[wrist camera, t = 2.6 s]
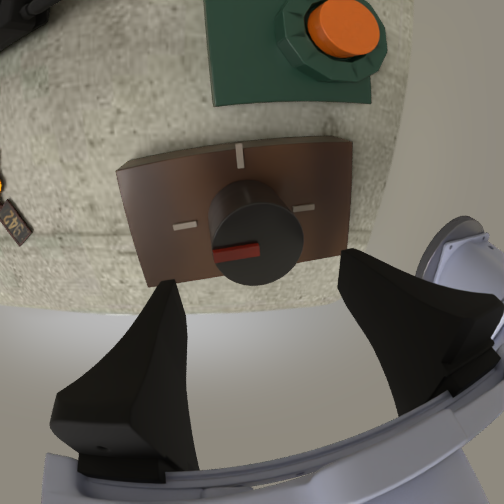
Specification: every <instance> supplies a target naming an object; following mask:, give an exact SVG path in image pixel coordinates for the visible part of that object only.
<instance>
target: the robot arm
mask: <svg viewBox="0 0 504 504" xmlns="http://www.w3.org/2000/svg"><path fill="white" fill-rule="evenodd" d="M488 239H489V233H487V232H486V233H482V234H478V235H474V236H470V237H466V238H462V239H458V240H454V241H450V242H446V243H445V244H444V246H443V250H442V253H441V257H440V261H439V264H438V268H437V271H436V274H435V277H434V281H433V283H432V282H429V281H426V280H424V279H421V278H418V277H415V276H413V275H410V274H408V273H406V272H404V271H401V270H399V269H397V268H395V267H393V266H391V265H389V264H387V263H385V262H383V261H380V260H378V259H376V258H374V257H372V256H370V255H368V254H366V253H364V252H362V251H360V250H357V249H354V248H351V249H345V250H341V259H340V269H339V278H338V286H337V288H338V290H339V292H340V294H341V296H342V298H343V300H344V302H345V304H346V306H347V308H348V309H349V311H350V312H351V314H352V315H353V317H354V318H355V320H356V321H357V323H358V325H359V326H360V327H361V329H362V330H363V332H364V334H365V335H366V337H367V338H368V340H369V342H370V343H371V345H372V347H373V349H374V351H375V353H376V355H377V357H378V359H379V361H380V363H381V366H382V368H383V371H384V373H385V376H386V378H387V381H388V383H389V386H390V389H391V392H392V395H393V398H394V401H395V405H396V408H397V412H398V416H399V417H398V418H396V419H393V420H391V421H389V422H387V423H385V424H382V425H381V426H378V427H376V428H373V429H371V430H369V431H366V432H364V433H361V434H358V435H356V436H353V437H351V438H348V439H345V440H342V441H339V442H336V443H334V444H330V445H327V446H324V447H321V448H318V449H315V450H311V451H308V452H304V453H301V454H296V455H292V456H288V457H284V458H280V459H275V460H271V461H266V462H261V463H255V464H249V465H243V466H237V467H230V468H221V469H211V470H199V466H198V461H197V457H196V452H195V447H194V441H193V436H192V430H191V424H190V416H189V409H188V400H187V391H186V365H187V363H186V361H187V325H186V315H185V312H184V308H183V305H182V302H181V298H180V295H179V292H178V288H177V285H176V281H175V279H171V280H165V281H160V283H159V284H158V286H157V287H156V289H155V291H154V292H153V294H152V296H151V297H150V299H149V300H148V302H147V304H146V305H145V307H144V308H143V310H142V311H141V313H140V314H139V316H138V317H137V319H136V320H135V322H134V323H133V324H132V326H131V327H130V328H129V330H128V331H127V332H126V334H125V335H124V336H123V338H121V339H120V341H119V342H118V343H117V344H116V345H115V346H114V347H113V348H112V349H111V350H110V351H109V352H108V354H106V355H105V356H104V357H103V358H102V359H101V360H100V361H99V362H98V363H97V364H96V365H95V366H94V367H92V368H91V369H90V370H89V371H88V372H86V373H85V374H84V375H83V376H82V377H80V378H79V379H77V380H76V381H75V382H73V383H72V384H70V385H69V386H67V387H66V388H64V389H63V390H61V391H60V392H58V393H57V395H56V399H55V403H54V407H53V411H52V415H51V420H50V429H51V430H52V432H53V433H54V434H55V435H56V436H57V437H58V438H59V439H60V440H62V441H63V442H64V443H66V444H67V445H68V446H70V447H71V448H73V449H74V450H75V451H77V452H78V453H79V458H78V460H76V459H74V458H71V457H67V456H61V455H56V454H52V453H47V454H46V458H45V466H44V475H43V484H42V497H41V504H489V501H488V499H487V497H486V495H485V493H484V491H483V489H482V486H481V484H480V483H479V481H478V478H477V477H476V474H475V473H474V471H473V469H472V467H471V465H470V463H469V461H468V459H467V457H466V456H465V454H464V452H463V450H462V449H461V447H463V446H464V445H465V444H466V443H468V442H469V441H471V440H472V439H473V438H474V437H475V436H477V435H478V434H479V433H480V432H481V431H483V430H484V429H485V428H486V427H487V426H488V425H489V424H491V423H492V422H493V421H494V420H495V419H496V418H497V417H498V416H499V415H500V414H501V413H502V412H503V411H504V253H503V252H502V251H501V250H499V249H498V248H497V247H495V246H494V245H493V244H491V243H490V242H488ZM313 472H314V473H313ZM310 473H311V474H310ZM306 474H308V475H306ZM302 475H305V476H302ZM299 476H302V477H300V478H296V479H293V480H289V481H286V482H283V483H279V484H276V485H271V486H267V487H264V488H259V489H255V490H253V488H251V487H252V486H257V485H263V484H268V483H273V482H278V481H282V480H286V479H291V478H295V477H299Z"/></svg>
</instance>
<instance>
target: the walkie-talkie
mask: <svg viewBox="0 0 504 504" xmlns="http://www.w3.org/2000/svg"><path fill="white" fill-rule="evenodd" d="M59 1H61V0H0V51H1V50H3V49H4V48H6V47H7V46H9V45H10V44H12V43H13V42H15V41H17V40H19V39H20V38H22V37H24V36H25V35H27V34H29V33H30V32H32V31H34V30H36V29H37V28H39V27H41V26H43V25H44V24H46V23H47V22H48V18H49V10H50V7H51V6H53V5H54V4H56V3H58V2H59Z"/></svg>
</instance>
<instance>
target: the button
mask: <svg viewBox="0 0 504 504" xmlns="http://www.w3.org/2000/svg"><path fill="white" fill-rule="evenodd" d="M308 31H309V34H310V36H311V38H312V40H313V41H314V43H315V44H316V45H317V46H318V47H319V48H320V49H321V50H322V51H324V52H325V53H327V54H329V55H331V56H334V57H337V58H349V57H354V56H359V55H363V54H367V53H369V52H371V51H372V50H374V48H375V47H376V46H377V44H378V42H379V37H380V32H379V27H378V23H377V21H376V19H375V17H374V16H373V14H372V13H371V12H370V11H369V10H368V9H367V8H366V7H365V6H364V5H362V4H361V3H359V2H358V1H356V0H328V1H326V2H324V3H323V4H321V5H320V6H319V7H317V8H316V9H314V10H313V11H312V12H311V14H310V16H309V18H308Z"/></svg>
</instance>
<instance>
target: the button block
mask: <svg viewBox="0 0 504 504" xmlns="http://www.w3.org/2000/svg"><path fill="white" fill-rule="evenodd" d="M326 1H328V0H203V2H204V15H205V27H206V39H207V50H208V61H209V71H210V82H211V92H212V101H213V107H219V106H228V105H238V104H250V103H265V102H290V101H322V102H347V103H363V104H371V83H370V75H372V74H374V73H376V72H377V71H379V68H380V66H381V64H382V62H383V60H384V58H385V56H386V54H387V41H386V33H385V27H384V25H383V24H382V22H381V20H380V19H379V17H378V16H377V14H376V12H375V11H374V9H373V8H372V6H371V5H370V4H369V3H368V2H366V1H365V0H356V1H358V2H359V3H361V4H362V5H364V6H365V7H366V8H367V9H368V10H369V11H370V12H371V13H372V14H373V16H374V17H375V19H376V21H377V23H378V27H379V32H380V37H379V42H378V44H377V46H376V47H375V48H374V50H372V51H371V52H369V53H367V54H363V55H359V56H354V57H349V58H337V57H334V56H331V55H329V54H327V53H325V52H324V51H322V50H321V49H320V48H319V47H318V46H317V45H316V44H315V43H314V41H313V40H312V38H311V36H310V34H309V31H308V18H309V16H310V14H311V12H312V11H313V10H314V9H316V8H317V7H319V6H320V5H321V4H323V3H324V2H326Z"/></svg>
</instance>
